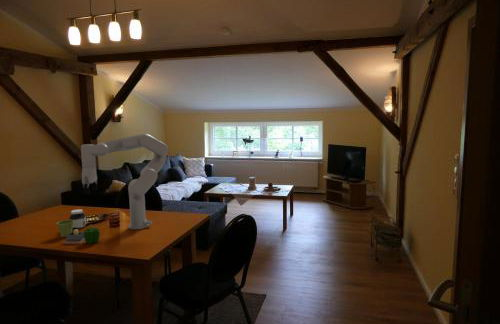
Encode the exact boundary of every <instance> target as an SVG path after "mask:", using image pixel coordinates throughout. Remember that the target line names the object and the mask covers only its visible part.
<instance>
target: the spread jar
mask: <svg viewBox="0 0 500 324" xmlns="http://www.w3.org/2000/svg"><path fill="white" fill-rule="evenodd" d="M70 213H71V214H70V215H69V218H68V220H74V222H73V228H72V230H75V229H78V230H82V229H84V228H85V227H86V225H87V217H86V214H85V213H84V212H83V209H73V210H71V211H70Z"/></svg>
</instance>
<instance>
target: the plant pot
mask: <svg viewBox="0 0 500 324" xmlns="http://www.w3.org/2000/svg"><path fill="white" fill-rule="evenodd" d="M73 222H74V220H69V219H64V220H59V221H57V222H56V225H57V227H58V230H59V235H60V238H61V237H62V238H66V235H68V234H70V233H71V232H73V229H72V228H73Z"/></svg>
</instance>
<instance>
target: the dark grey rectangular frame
mask: <svg viewBox="0 0 500 324" xmlns="http://www.w3.org/2000/svg"><path fill="white" fill-rule="evenodd" d="M65 239H66V240H65V241H82V240H83V239H84V231H78V235H74V232H73V231H72V232H71V233H70V234H68V235H66V237H65Z"/></svg>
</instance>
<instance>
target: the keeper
mask: <svg viewBox="0 0 500 324" xmlns="http://www.w3.org/2000/svg"><path fill="white" fill-rule="evenodd" d="M72 232H74V235H78V232H79V229H75V230H74V229H72ZM84 242H86V241H85V238H84V239H83V240H82V241H66V240H64V241H63V242H62V244H63V245H75V244H76V245H78V244H79V245H81V244H82V243H84Z"/></svg>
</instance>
